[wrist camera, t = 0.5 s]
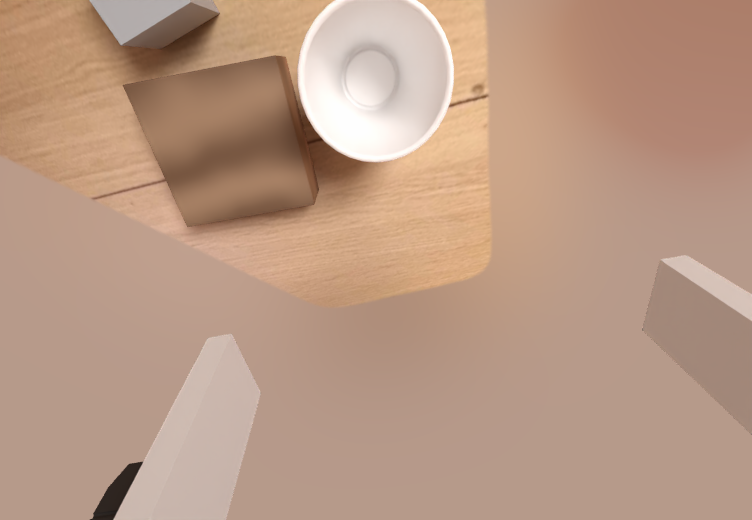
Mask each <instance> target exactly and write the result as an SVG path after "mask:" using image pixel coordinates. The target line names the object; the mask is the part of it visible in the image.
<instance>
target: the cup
mask: <svg viewBox="0 0 752 520" xmlns="http://www.w3.org/2000/svg"><path fill="white" fill-rule="evenodd" d="M297 68H298V89H299V94H300V100H301V103H302V106H303V108H304V111H305V114H306V116H307V118H308V120H309V121H310V123H311V125H312V126H313V128H314V130H315V131H316V132H317V133H318V135H319V136H320V137H321V138H322V139H323V140H324V141H325V142H326V143H327V144H328V145H330V146H331V147H332V148H333V149H335V150H336V151H338V152H339V153H341V154H343V155H345V156H347V157H349V158H353V159H356V160H360V161H363V162H376V163H378V162H386V161H392V160H395V159H398V158H401V157H404V156H406V155H408V154H410V153H411V152H413V151H415V150H417V149H418V148H419V147H420V146H421V145H423V144H424V143H425V142H426V141H427V140H428V139H429V138H430V137H431V136H432V135H433V133H434V132H435V131H436V130H437V129H438V127H439V125H440V123H441V122H442V120H443V118H444V116H445V114H446V112H447V109H448V106H449V103H450V100H451V96H452V90H453V84H454V65H453V60H452V54H451V49H450V46H449V43H448V41H447V38H446V35H445V33H444V31H443V29H442V28H441V26H440V25H439V23H438V21H437V20H436V18H435V17H434V16H433V15H432V14H431V13H430V12H429V10H428V9H427V8H426V7H425V6H424V5H423V4H421V3H420V2H418V1H417V0H335V1H333V2H332V3H330V4H329V5H328V6H327V7H326V8H325V9H324V10H323V11H322V12H321V13H320V14H319V15H318V16H317V17H316V19H315V20H314V22H313V23H312V25H311V27H310V28H309V30H308V32H307V33H306V36H305V39H304V42H303V44H302V47H301V50H300V55H299V61H298V67H297Z"/></svg>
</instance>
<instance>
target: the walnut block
mask: <svg viewBox="0 0 752 520" xmlns="http://www.w3.org/2000/svg"><path fill="white" fill-rule="evenodd" d="M123 87H124V89H125V91H126V93H127V96H128V98H129V100H130V102H131V104H132V107H133V109H134V111H135V113H136V115H137V118H138V120H139V122H140V124H141V126H142V129H143V131H144V133H145V135H146V137H147V140H148V142H149V144H150V146H151V148H152V150H153V153H154V155H155V157H156V159H157V161H158V164H159V166H160V168H161V170H162V172H163V175H164V177H165V179H166V181H167V183H168V186H169V188H170V190H171V192H172V194H173V197H174V199H175V201H176V203H177V205H178V207H179V210H180V212H181V214H182V216H183V218H184V221H185V223H186V225H187V227H190V226H196V225H202V224H207V223H213V222H219V221H224V220H230V219H235V218H241V217H247V216H252V215H258V214H264V213H269V212H275V211H281V210H286V209H292V208H297V207H303V206H309V205H314V204H315V200H316V197H317V194H318V191H319V188H318V184H317V180H316V176H315V172H314V168H313V164H312V160H311V156H310V152H309V148H308V144H307V140H306V136H305V132H304V128H303V124H302V120H301V116H300V112H299V108H298V104H297V100H296V96H295V92H294V88H293V84H292V80H291V76H290V72H289V68H288V64H287V60H286V57H282V56H270V57H265V58H260V59H255V60H250V61H244V62H239V63H234V64H229V65H224V66H219V67H213V68H208V69H203V70H198V71H193V72H188V73H182V74H177V75H172V76H167V77H162V78H157V79H151V80H146V81H141V82H136V83H131V84H126V85H123Z"/></svg>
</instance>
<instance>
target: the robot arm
mask: <svg viewBox="0 0 752 520" xmlns="http://www.w3.org/2000/svg"><path fill="white" fill-rule="evenodd" d="M642 330H643V331H644V332H645V333H646V334H647V335H648V336H649V337H650V338H651V339H652V340H653V341H654V342H655V343H656V344H657V345H658V346H659V347H660V348H661V349H662V350H663V351H664V352H666V353H667V354H668V355H669V356H670V357H671V358H672V359H673V360H674V361H675V362H676V363H677V364H678V365H679V366H680V367H681V368H682V369H683V370H684V371H685V372H686V373H688V374H689V375H690V376H691V377H692V378H693V379H694V380H695V381H696V382H697V383H698V384H699V385H700V386H701V387H702V388H703V389H704V390H705V391H706V392H707V393H708V394H710V395H711V396H712V397H713V398H714V399H715V400H716V401H717V402H718V403H719V404H720V405H721V406H722V407H723V408H724V409H725V410H726V411H727V412H729V414H730V415H732V416H733V417H734V418H735V419H736V420H737V421H738V422H739V423H740V424H741V425H742V426H743V427H744V428H745V429H746V430H747V431H748V432H749V433H750V434H751V435H752V294H750V293H748V292H747V291H745V290H743V289H742V288H740V287H738V286H737V285H735V284H733V283H732V282H730V281H728V280H727V279H725V278H723V277H722V276H720V275H718V274H717V273H715V272H713V271H712V270H710V269H708V268H707V267H705V266H703V265H702V264H700V263H699V262H696V261H695V260H694V259H692V258H690V257H688V256H687V255H685V256H679V257H673V258H667V259H662V260H660V262H659V266H658V269H657V273H656V277H655V282H654V285H653V289H652V293H651V297H650V301H649V305H648V309H647V313H646V316H645V321H644V324H643V328H642ZM260 394H261V392H260V390H259V388H258V386H257V384H256V382H255V380H254V378H253V376H252V374H251V372H250V370H249V368H248V366H247V364H246V362H245V360H244V358H243V356H242V354H241V352H240V350H239V348H238V346H237V344H236V342H235V340H234V338H233V336H232V334H227V335H221V336H215V337H210V338H208V339H207V340H206V343H205V344H204V346H203V348H202V350H201V352H200V354H199V356H198V358H197V360H196V362H195V364H194V366H193V368H192V369H191V371H190V373H189V375H188V377H187V379H186V381H185V383H184V385H183V387H182V389H181V391H180V392H179V394H178V396H177V398H176V400H175V402H174V404H173V406H172V408H171V410H170V412H169V414H168V416H167V417H166V419H165V421H164V423H163V425H162V427H161V429H160V431H159V433H158V435H157V437H156V439H155V441H154V442H153V444H152V446H151V448H150V450H149V452H148V454H147V456H146V458H145V460H144V462H138V463H132V464H129V465H128V466H127V467H126V468H125V469H124V470H123V471H122V473H121V474H120V475H119V476H118V477H117V478H116V479H115V480H114V482H113V483H112V484H111V485H110V486H109V487H108V489H107V491H106V492H105V494H104V496H103V498H102V499H101V501H100V503H99V505H98V507H97V508H96V510H95V512H94V513H93V514H94V517H93V519H90V520H226V517H227V513H228V509H229V506H230V503H231V499H232V495H233V492H234V488H235V484H236V481H237V477H238V473H239V470H240V466H241V463H242V459H243V456H244V452H245V448H246V445H247V441H248V438H249V434H250V430H251V427H252V423H253V420H254V416H255V412H256V409H257V405H258V401H259V397H260Z"/></svg>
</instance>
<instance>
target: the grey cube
mask: <svg viewBox="0 0 752 520" xmlns="http://www.w3.org/2000/svg"><path fill="white" fill-rule="evenodd" d="M89 1H90V2H91V3H92V5H93V6H94V8H95V9H96V11H97V12H98V13H99V15H100V16H101V18H102V19H103V21H104V22H105V23H106V25H107V26H108V28H109V29H110V31H111V32H112V33H113V35H114V36H115V38H116V39H117V41H118V42H119V43H120V45H122V46H133V47H144V48H155V49H162V48H164V47H165V46H167V45H169V44H170V43H172V42H174V41H175V40H177V39H179V38H180V37H182V36H184V35H185V34H187V33H188V32H190V31H192V30H193V29H195V28H197V27H198V26H200V25H202V24H203V23H205V22H207V21H208V20H210V19H212V18H213V17H215V16H217V15H218V14H220V13H219V11H218V9H217V7H216V6H215V4H214V2H213V0H89Z"/></svg>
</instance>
